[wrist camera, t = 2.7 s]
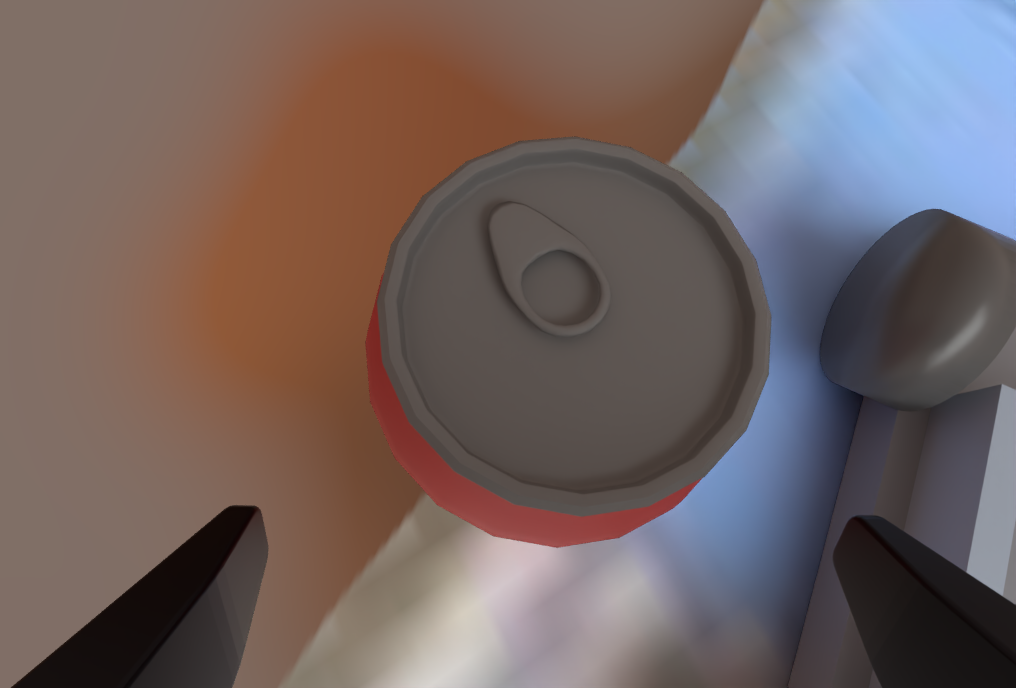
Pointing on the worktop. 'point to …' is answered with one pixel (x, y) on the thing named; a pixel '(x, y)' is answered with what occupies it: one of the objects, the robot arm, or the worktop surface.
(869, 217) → the worktop surface
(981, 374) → the chassis
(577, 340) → the beer can
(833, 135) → the worktop surface
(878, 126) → the worktop surface
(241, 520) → the robot arm
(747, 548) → the worktop surface
